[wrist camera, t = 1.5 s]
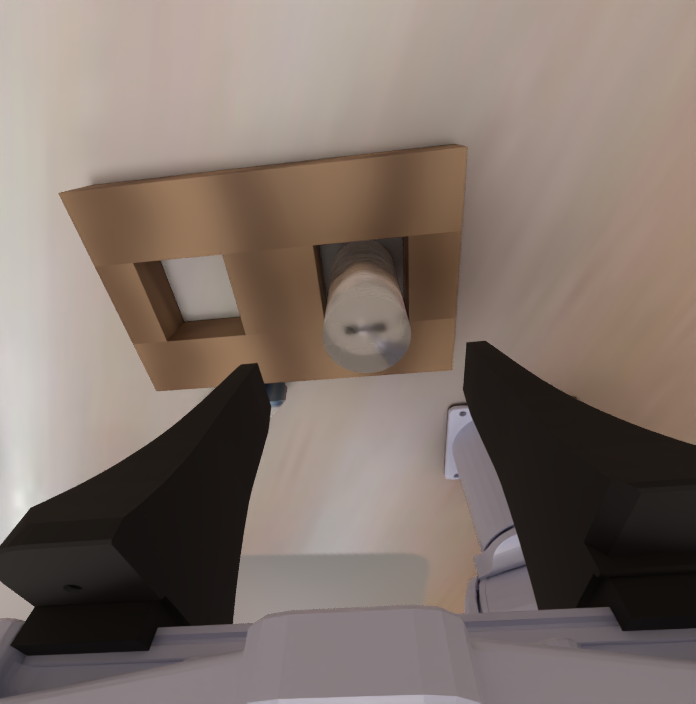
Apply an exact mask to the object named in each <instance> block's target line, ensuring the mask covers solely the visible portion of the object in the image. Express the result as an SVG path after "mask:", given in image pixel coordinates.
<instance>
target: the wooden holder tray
mask: <svg viewBox="0 0 696 704" xmlns="http://www.w3.org/2000/svg"><path fill="white" fill-rule="evenodd" d="M466 162H467V147H466V146H461V145H457V144H449V145H441V146H432V147H423V148H414V149H406V150H397V151H388V152H379V153H370V154H362V155H353V156H344V157H335V158H326V159H318V160H309V161H300V162H291V163H283V164H274V165H265V166H256V167H247V168H239V169H230V170H221V171H212V172H204V173H195V174H186V175H177V176H168V177H160V178H151V179H142V180H133V181H124V182H116V183H107V184H98V185H90V186H86V187H82V188H78V189H73V190H69V191H65V192H61V193H59V195H60V197H61V199H62V202H63V204H64V206H65V208H66V210H67V212H68V214H69V216H70V218H71V220H72V222H73V224H74V226H75V228H76V230H77V232H78V234H79V236H80V238H81V240H82V242H83V244H84V246H85V248H86V250H87V252H88V254H89V256H90V258H91V260H92V262H93V264H94V266H95V268H96V270H97V272H98V274H99V276H100V278H101V280H102V282H103V284H104V286H105V288H106V290H107V292H108V294H109V296H110V298H111V300H112V302H113V304H114V306H115V308H116V310H117V312H118V314H119V316H120V318H121V321H122V323H123V325H124V327H125V329H126V331H127V333H128V335H129V337H130V339H131V341H132V343H133V345H134V347H135V349H136V351H137V353H138V355H139V357H140V359H141V361H142V363H143V365H144V367H145V369H146V371H147V373H148V375H149V377H150V379H151V381H152V383H153V385H154V387H155V389H156V391H167V390H181V389H195V388H209V387H217V386H218V385H219V384H220V383H221V382H222V381H224V380H225V379H226V378H227V377H228V376H229V375H230V374H231V373H232V372H233V371H234V370H235V369H236V368H237V367H238V366H240V365H241V364H251V363H258V365H259V369H260V372H261V375H262V378H263V381H264V383H278V382H292V381H306V380H320V379H334V378H348V377H362V376H376V375H389V374H403V373H417V372H431V371H445V370H452V367H453V352H454V338H455V323H456V308H457V294H458V279H459V264H460V250H461V235H462V220H463V206H464V191H465V176H466ZM394 237H403V267H404V305H405V309H406V313H407V317H408V320H409V324H410V328H411V340H410V344H409V347H408V349H407V351H406V353H405V354H404V356H403V357H402V358H401V359H400V360H399V361H398V362H397V363H396V364H394V365H393V366H391V367H389V368H387V369H385V370H382V371H379V372H375V373H357V372H353V371H349V370H347V369H345V368H343V367H341V366H339V365H338V364H337V363H335V362H334V361H333V360H332V359H331V358H330V356H329V355H328V353H327V352H326V350H325V347H324V344H323V338H322V334H323V326H324V319H325V313H326V306H327V298H326V291H325V284H324V277H323V270H322V263H321V256H320V250H319V245H322V244H333V243H343V242H353V241H363V240H374V239H384V238H394ZM220 254H222V255H223V259H224V262H225V266H226V269H227V272H228V276H229V279H230V283H231V286H232V290H233V293H234V296H235V300H236V303H237V307H238V310H239V313H240V317H235V318H223V319H211V320H200V321H188V322H184V321H183V318H182V316H181V313H180V310H179V308H178V305H177V303H176V300H175V298H174V295H173V293H172V290H171V287H170V285H169V282H168V280H167V277H166V275H165V272H164V270H163V267H162V264H161V262H160V260H169V259H179V258H189V257H199V256H210V255H220Z"/></svg>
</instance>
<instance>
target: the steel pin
mask: <svg viewBox="0 0 696 704" xmlns="http://www.w3.org/2000/svg"><path fill="white" fill-rule="evenodd" d="M322 338H323V344H324V347H325V350H326V352H327V353H328V355H329V356H330V358H331V359H332V360H333V361H334V362H335V363H337V364H338V365H339V366H341V367H343V368H345V369H347V370H349V371H353V372H357V373H375V372H379V371H382V370H385V369H387V368H389V367H391V366H393V365H394V364H396V363H397V362H398V361H399V360H400V359H401V358H402V357H403V356H404V354H405V353H406V351H407V349H408V347H409V344H410V340H411V328H410V324H409V320H408V317H407V313H406V309H405V305H404V302H403V298H402V294H401V291H400V287H399V283H398V280H397V276H396V272H395V269H394V265H393V261H392V258H391V256H390V254H389V252H388V251H387V249H386V248H385V247H384V246H382V245H381V244H380V243H378V242H376V241H373V240H363V241H353V242H349V243H347V244H346V245H344V246H343V247H342V248H341V249H340V250H339V251H338V253H337V255H336V256H335V259H334V262H333V268H332V274H331V281H330V287H329V293H328V300H327V306H326V313H325V319H324V326H323V334H322Z"/></svg>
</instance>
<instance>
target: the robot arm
mask: <svg viewBox="0 0 696 704" xmlns="http://www.w3.org/2000/svg"><path fill="white" fill-rule="evenodd" d="M463 391H464V395H465V398H466V402H467V405H464V406H453V407H451V408H450V409H449V410H448V421H447V436H446V451H445V467H444V475H445V478H446V479H450V480H451V479H460V481H461V484H462V487H463V491H464V494H465V498H466V501H467V504H468V508H469V511H470V514H471V518H472V521H473V525H474V528H475V531H476V535H477V538H478V541H479V545H480V548H481V552H482V553H481V554H479V555H477V556H474V562H475V566H476V569H477V573H478V576H476V577H473V578H471V579H470V581H469V582H468V586H467V592H466V597H465V614H455V613H452V612H450V611H447V610H445V609H442V608H440V607H437V606H423V605H397V606H376V607H355V608H333V609H313V610H291V611H285V612H279V613H273V614H268V615H266V616H265V617H263V618H261V619H260V620H258V621H257V622H255V623H247V624H233V615H234V605H235V595H236V586H237V578H238V571H239V563H240V555H241V548H242V542H243V535H244V528H245V522H246V517H247V511H248V505H249V500H250V495H251V491H252V487H253V484H254V480H255V477H256V473H257V470H258V466H259V463H260V459H261V456H262V452H263V449H264V445H265V441H266V438H267V434H268V429H269V422H270V415H271V404H270V400H269V397H268V394H267V391H266V388H265V385H264V381H263V378H262V375H261V372H260V369H259V365H258V363H251V364H241V365H240V366H238V367H237V368H236V369H235V370H234V371H233V372H232V373H231V374H230V375H229V376H228V377H227V378H226V379H225V380H224V381H222V382H221V383H220V384H219V385H218V386H217V387H216V388H215V389H214V390H213V391H212V392H211V393H210V394H209V395H208V396H207V397H206V398H205V399H204V400H203V401H201V402H200V403H199V404H198V405H197V406H196V407H195V408H193V409H192V410H191V411H190V412H189V413H188V414H187V415H185V416H184V417H183V418H182V419H181V420H180V421H178V422H177V423H176V424H175V425H173V426H172V427H171V428H170V429H168V430H167V431H166V432H164V433H163V434H162V435H160V436H159V437H157V438H156V439H155V440H153V441H152V442H150V443H149V444H147V445H146V446H144V447H143V448H141V449H140V450H138V451H137V452H135V453H134V454H132V455H130V456H129V457H127V458H126V459H124V460H123V461H121V462H119V463H118V464H116V465H114V466H113V467H111V468H109V469H107V470H106V471H104V472H102V473H100V474H98V475H97V476H95V477H93V478H91V479H89V480H87V481H85V482H84V483H82V484H80V485H78V486H76V487H74V488H72V489H70V490H68V491H65V492H63V493H61V494H59V495H57V496H55V497H53V498H51V499H49V500H47V501H45V502H42V503H40V504H38V505H36V506H34V507H31V508H30V509H29V511H28V512H27V513H26V514H25V515H24V517H23V518H22V519H21V520H20V522H19V523H18V524H17V525H16V527H15V528H14V529H13V530H12V532H11V533H10V534H9V535H8V537H7V538H6V539H5V540H4V542H3V543H2V544H1V545H0V581H1V582H2V583H3V584H5V585H6V586H7V587H9V588H10V589H11V590H13V591H14V592H15V593H17V594H18V595H20V596H21V597H22V598H24V599H25V600H26V601H28V602H29V603H31V604H32V605H33V606H35V607H34V609H33V611H32V612H31V614H30V615H29V617H28V618H27V620H26V621H22V620H18V619H11V618H1V619H0V704H696V445H693V444H689V443H686V442H682V441H679V440H676V439H673V438H670V437H667V436H664V435H662V434H659V433H656V432H653V431H650V430H647V429H644V428H642V427H639V426H636V425H634V424H631V423H629V422H626V421H624V420H621V419H619V418H617V417H614V416H612V415H609V414H607V413H605V412H602V411H600V410H598V409H596V408H594V407H591V406H589V405H587V404H585V403H583V402H581V401H579V399H576V398H573V397H571V396H569V395H568V394H566V393H564V392H562V391H560V390H558V389H557V388H555V387H553V386H552V385H550V384H548V383H547V382H545V381H543V380H542V379H540V378H539V377H537V376H535V375H534V374H532V373H531V372H529V371H528V370H526V369H525V368H523V367H522V366H520V365H519V364H517V363H516V362H515V361H513V360H512V359H510V358H509V357H508V356H506V355H505V354H503V353H502V352H501V351H499V350H498V349H496V348H495V347H494V346H492V345H491V344H489V343H488V342H486V341H478V342H467V344H466V358H465V371H464V384H463ZM462 411H464V412H463V413H460V412H462Z"/></svg>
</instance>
